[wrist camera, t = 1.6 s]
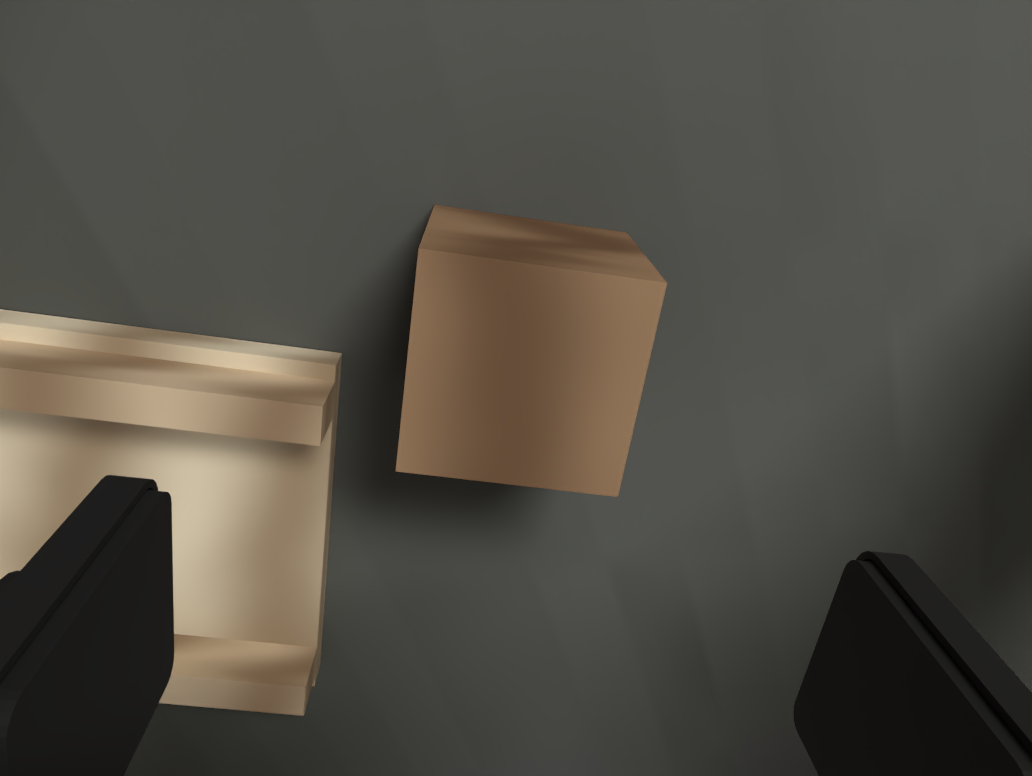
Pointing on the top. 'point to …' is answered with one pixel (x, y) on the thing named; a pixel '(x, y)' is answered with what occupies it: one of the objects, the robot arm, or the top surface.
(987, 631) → the top surface
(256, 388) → the board
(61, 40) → the top surface
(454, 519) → the top surface
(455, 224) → the walnut block
